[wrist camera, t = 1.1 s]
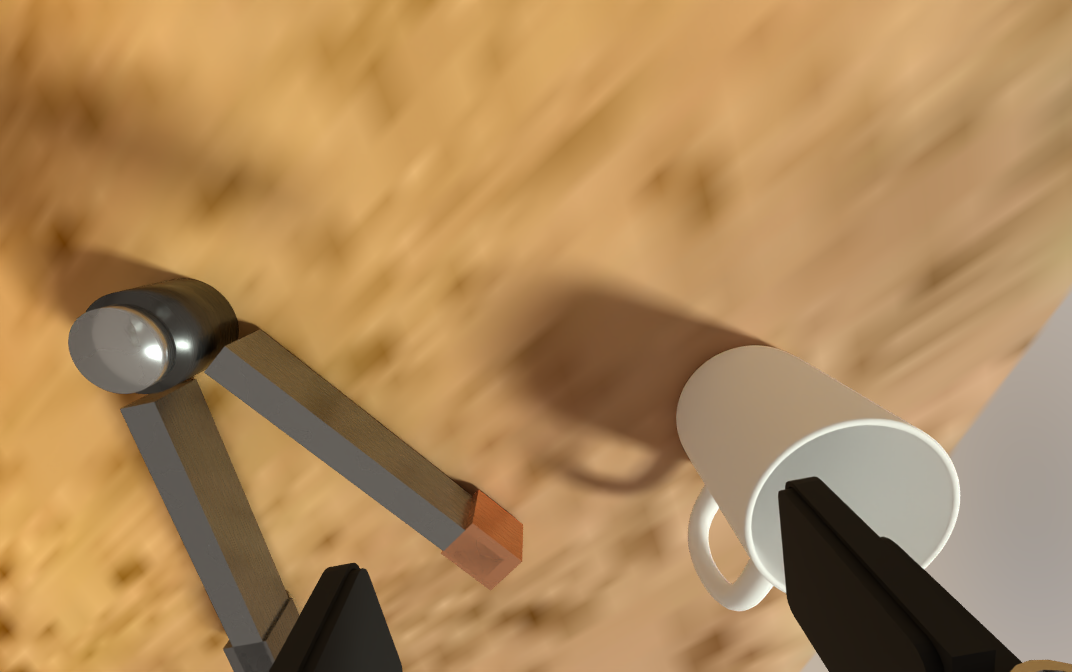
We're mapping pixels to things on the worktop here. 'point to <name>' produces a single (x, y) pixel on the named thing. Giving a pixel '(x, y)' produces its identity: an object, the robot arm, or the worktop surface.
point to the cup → (802, 463)
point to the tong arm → (311, 430)
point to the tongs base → (207, 474)
